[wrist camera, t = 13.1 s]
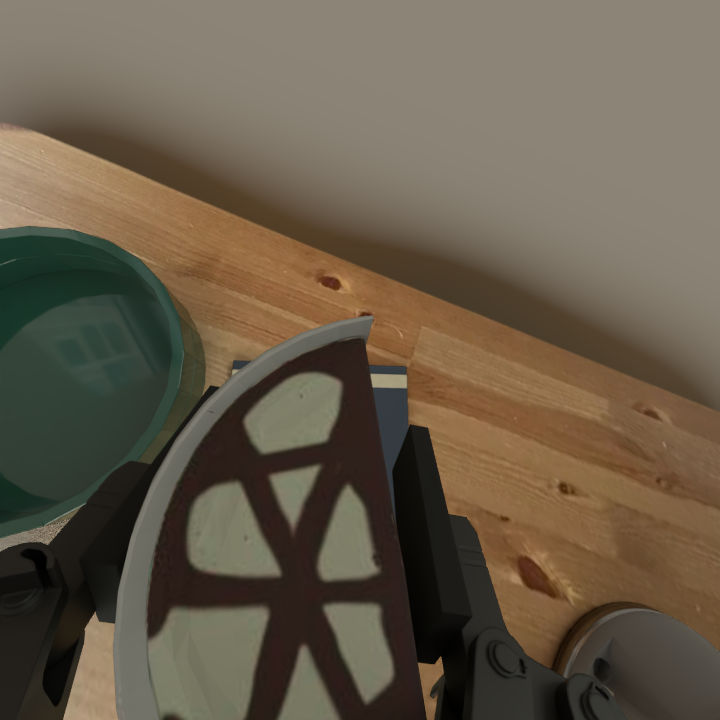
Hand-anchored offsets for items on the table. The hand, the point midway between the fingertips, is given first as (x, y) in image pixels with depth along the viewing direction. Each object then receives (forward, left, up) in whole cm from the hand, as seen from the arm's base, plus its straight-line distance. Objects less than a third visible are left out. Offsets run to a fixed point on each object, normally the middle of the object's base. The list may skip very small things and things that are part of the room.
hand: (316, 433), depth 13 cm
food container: (+1, +4, -4) cm, 5 cm away
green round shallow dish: (+20, -5, -15) cm, 25 cm away
